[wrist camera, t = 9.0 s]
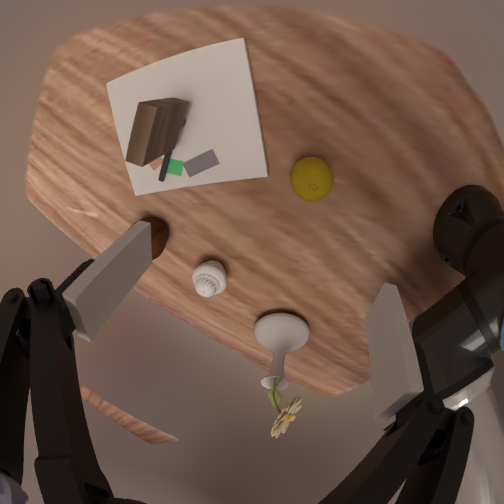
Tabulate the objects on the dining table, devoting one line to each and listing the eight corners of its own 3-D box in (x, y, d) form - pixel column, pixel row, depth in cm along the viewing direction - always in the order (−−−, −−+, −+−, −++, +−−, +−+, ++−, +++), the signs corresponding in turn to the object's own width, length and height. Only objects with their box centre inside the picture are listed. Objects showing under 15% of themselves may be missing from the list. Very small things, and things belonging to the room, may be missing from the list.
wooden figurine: (174, 217, 45) (130, 270, 32) (173, 245, 48) (134, 301, 36) (140, 209, 45) (90, 257, 33) (140, 236, 48) (97, 287, 36)
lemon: (283, 167, 37) (279, 185, 31) (313, 143, 35) (316, 156, 28) (308, 195, 39) (309, 219, 32) (337, 173, 36) (346, 192, 30)
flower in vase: (297, 348, 58) (286, 453, 38) (248, 334, 58) (223, 440, 38) (322, 311, 51) (322, 434, 30) (267, 294, 51) (242, 420, 30)
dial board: (268, 173, 38) (267, 176, 37) (140, 192, 43) (135, 196, 42) (245, 39, 28) (243, 37, 26) (111, 82, 33) (105, 83, 31)
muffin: (194, 271, 51) (181, 296, 45) (204, 247, 47) (191, 272, 41) (224, 285, 51) (214, 312, 46) (236, 263, 48) (227, 289, 42)
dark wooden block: (193, 101, 32) (157, 107, 23) (168, 182, 39) (134, 211, 31) (178, 96, 32) (138, 102, 23) (155, 177, 39) (118, 204, 31)
